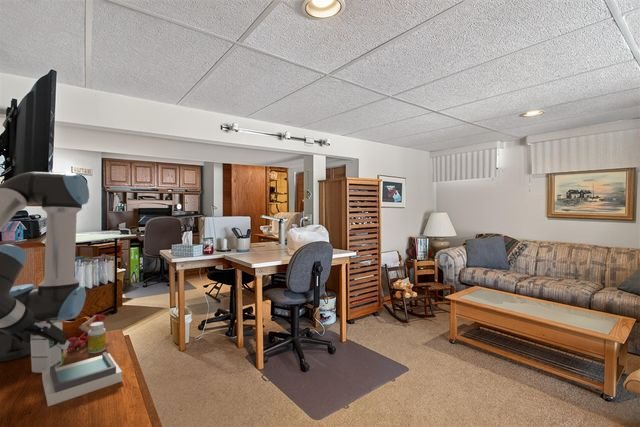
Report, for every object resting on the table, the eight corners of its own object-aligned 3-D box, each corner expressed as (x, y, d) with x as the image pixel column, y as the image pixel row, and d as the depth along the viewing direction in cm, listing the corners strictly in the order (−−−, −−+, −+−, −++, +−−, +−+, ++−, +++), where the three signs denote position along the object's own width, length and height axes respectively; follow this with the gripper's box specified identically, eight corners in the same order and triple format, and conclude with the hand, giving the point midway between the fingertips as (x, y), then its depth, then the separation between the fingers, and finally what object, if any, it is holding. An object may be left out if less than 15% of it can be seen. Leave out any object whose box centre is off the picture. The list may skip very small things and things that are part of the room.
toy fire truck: (64, 352, 113) (64, 325, 113) (98, 336, 127) (98, 312, 126) (72, 353, 112) (72, 326, 112) (105, 337, 126) (105, 313, 126)
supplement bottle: (92, 355, 111) (91, 327, 111) (85, 351, 114) (84, 324, 114) (108, 349, 116) (108, 323, 115) (101, 345, 119) (101, 319, 118)
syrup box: (49, 373, 99) (48, 327, 99) (30, 372, 99) (29, 327, 99) (64, 363, 105) (63, 320, 105) (46, 363, 105) (45, 320, 105)
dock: (42, 381, 95) (42, 365, 94) (109, 361, 107) (109, 347, 106) (47, 406, 83) (47, 387, 83) (122, 381, 95) (121, 364, 95)
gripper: (-36, 329, 86) (19, 358, 103) (38, 328, 87) (80, 357, 104) (-17, 303, 91) (33, 335, 108) (53, 303, 92) (91, 335, 109)
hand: (56, 346), depth 106 cm, fingers closed on syrup box, 6 cm apart
